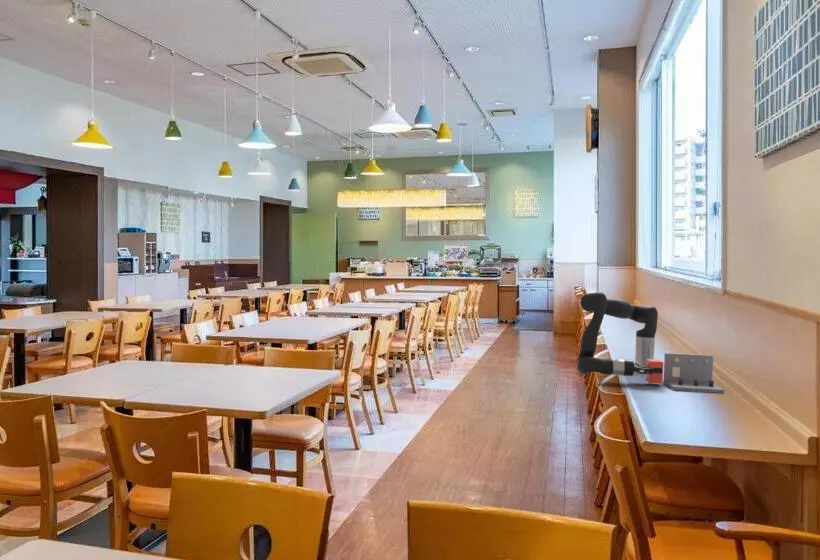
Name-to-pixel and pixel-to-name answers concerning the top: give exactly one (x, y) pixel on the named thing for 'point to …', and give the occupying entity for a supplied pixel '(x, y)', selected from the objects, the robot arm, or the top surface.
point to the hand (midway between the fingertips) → (660, 369)
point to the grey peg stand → (689, 372)
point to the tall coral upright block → (655, 377)
